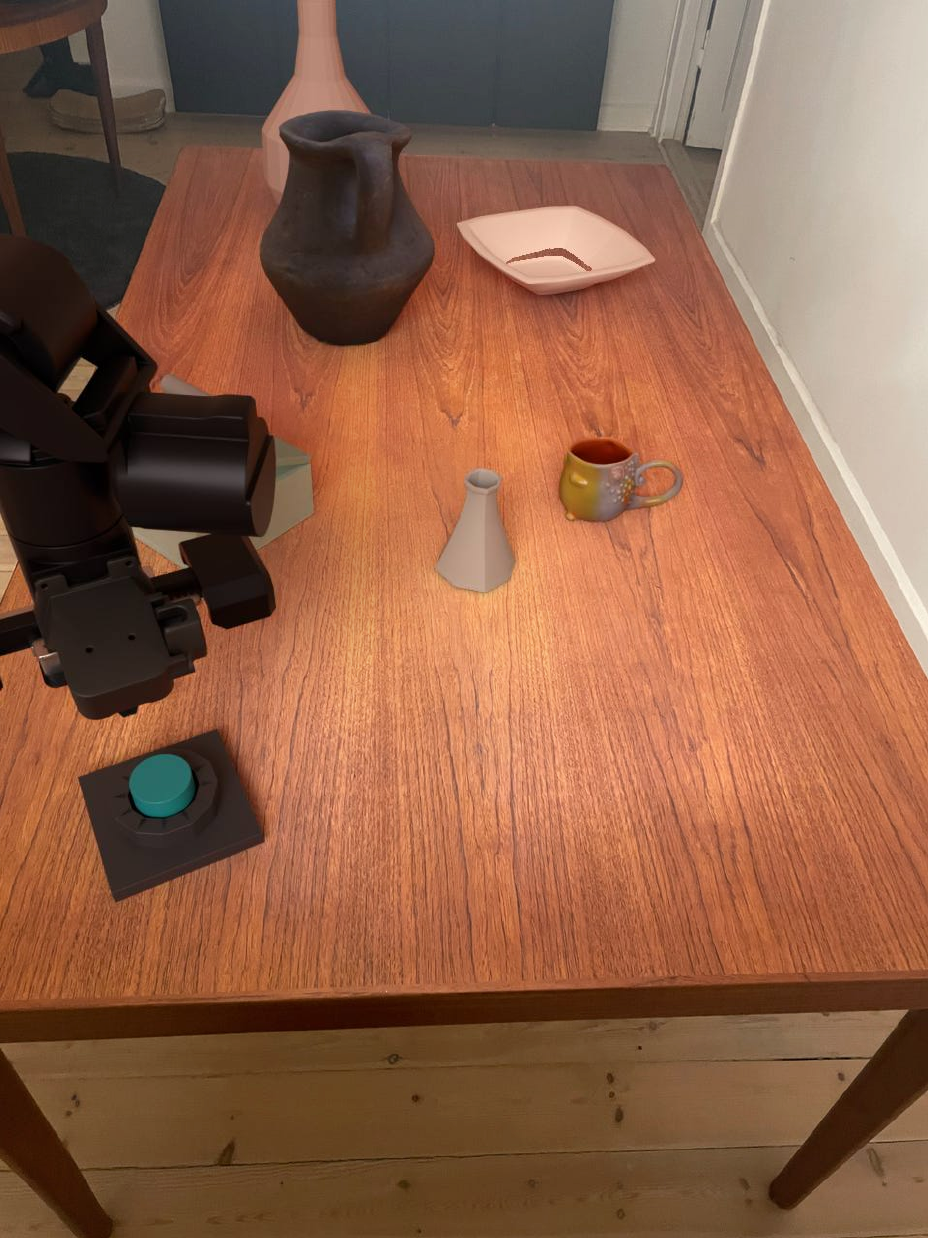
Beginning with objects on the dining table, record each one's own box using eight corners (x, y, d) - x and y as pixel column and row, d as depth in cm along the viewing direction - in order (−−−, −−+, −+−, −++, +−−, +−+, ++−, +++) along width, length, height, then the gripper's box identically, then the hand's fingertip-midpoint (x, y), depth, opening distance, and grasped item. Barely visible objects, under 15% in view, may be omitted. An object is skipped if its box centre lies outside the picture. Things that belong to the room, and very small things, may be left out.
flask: (528, 561, 85) (541, 473, 78) (488, 604, 80) (497, 515, 73) (463, 532, 87) (469, 444, 80) (420, 572, 83) (423, 483, 76)
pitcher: (394, 281, 125) (395, 77, 108) (462, 356, 112) (475, 136, 94) (248, 303, 118) (223, 89, 101) (301, 385, 105) (283, 154, 87)
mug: (555, 522, 89) (564, 466, 85) (557, 481, 94) (566, 426, 89) (677, 536, 89) (693, 480, 84) (673, 494, 94) (687, 439, 89)
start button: (142, 827, 60) (137, 812, 58) (127, 781, 62) (122, 766, 61) (202, 804, 61) (198, 789, 60) (185, 760, 64) (181, 745, 62)
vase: (253, 240, 132) (227, -6, 111) (286, 196, 145) (269, -31, 124) (371, 253, 131) (368, 8, 110) (394, 209, 144) (395, -19, 123)
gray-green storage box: (205, 584, 80) (196, 533, 76) (122, 529, 85) (108, 478, 81) (314, 513, 88) (311, 463, 84) (232, 466, 93) (225, 417, 89)
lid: (187, 475, 72) (199, 410, 70) (95, 421, 77) (104, 358, 75) (309, 463, 84) (323, 407, 82) (224, 416, 89) (234, 362, 86)
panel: (115, 903, 58) (105, 879, 56) (81, 786, 65) (71, 761, 62) (264, 842, 62) (260, 818, 60) (219, 738, 68) (213, 712, 66)
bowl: (440, 260, 131) (442, 220, 127) (576, 239, 139) (581, 200, 135) (516, 330, 117) (521, 287, 113) (662, 301, 126) (671, 260, 122)
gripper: (-134, 680, 37) (-15, 877, 48) (301, 557, 44) (318, 753, 55) (-150, 523, 44) (-43, 726, 55) (228, 437, 51) (257, 633, 62)
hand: (128, 710), depth 56 cm, fingers closed
